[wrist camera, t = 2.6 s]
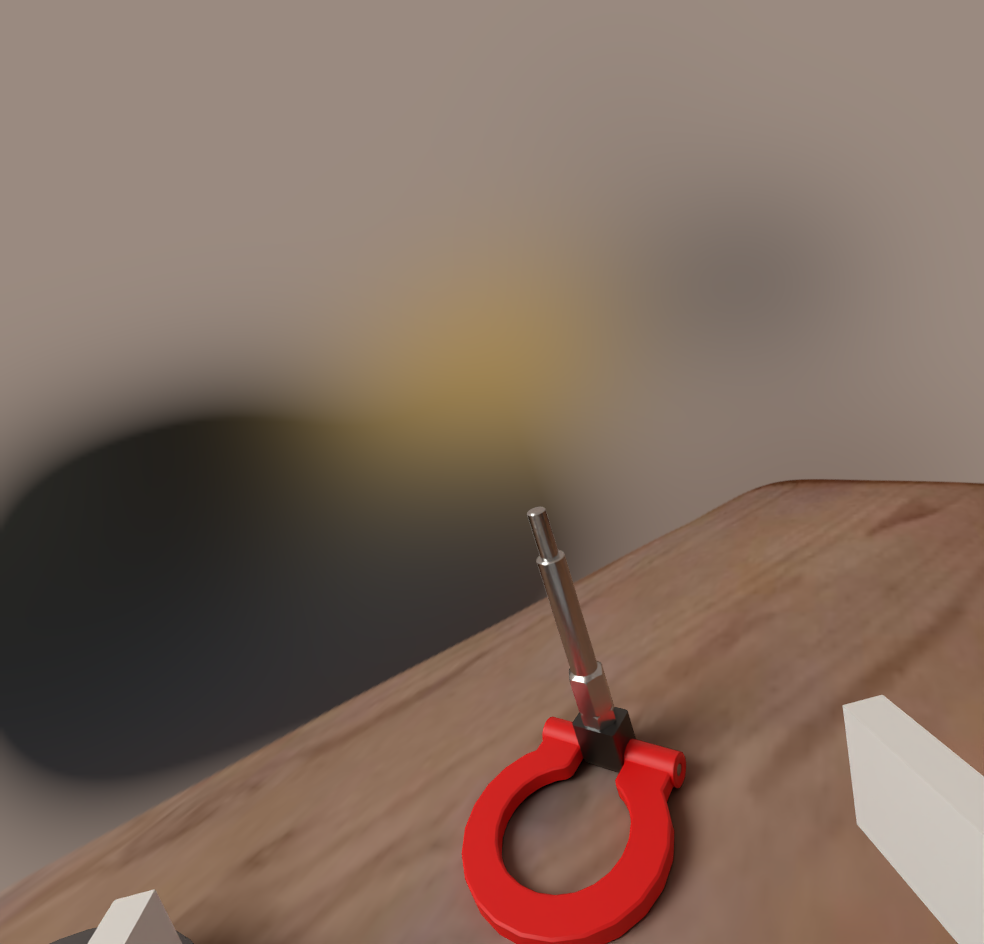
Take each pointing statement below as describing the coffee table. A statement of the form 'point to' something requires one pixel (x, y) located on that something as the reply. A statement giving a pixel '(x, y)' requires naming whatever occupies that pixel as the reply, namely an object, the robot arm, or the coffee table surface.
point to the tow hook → (593, 736)
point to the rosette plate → (81, 939)
